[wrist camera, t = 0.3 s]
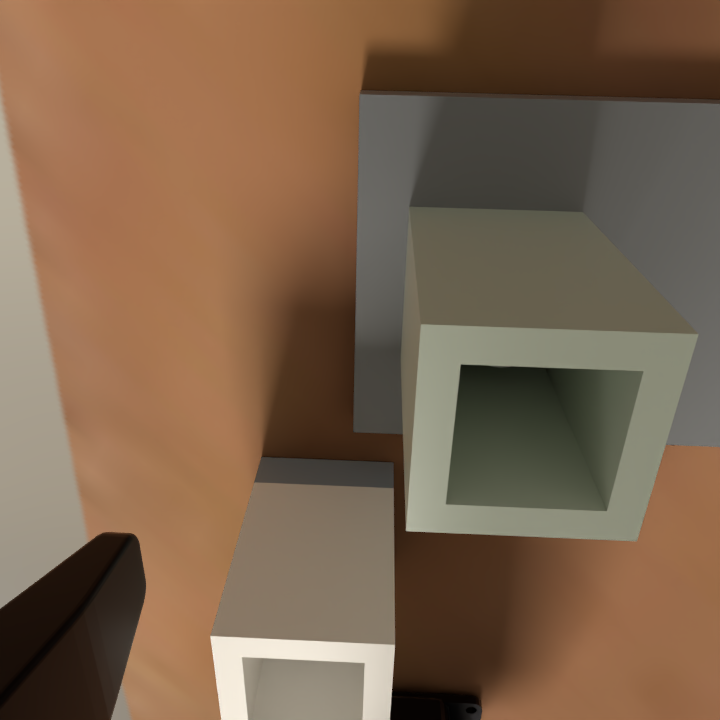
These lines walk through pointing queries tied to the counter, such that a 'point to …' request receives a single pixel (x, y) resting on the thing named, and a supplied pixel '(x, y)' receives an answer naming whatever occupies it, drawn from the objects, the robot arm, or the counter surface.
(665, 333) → the pin board
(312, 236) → the counter surface
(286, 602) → the sleeve
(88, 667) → the robot arm
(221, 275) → the counter surface
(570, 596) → the counter surface
